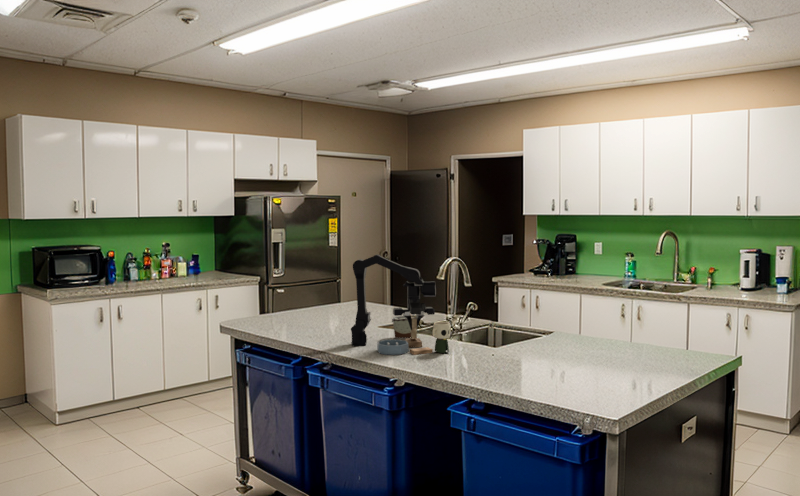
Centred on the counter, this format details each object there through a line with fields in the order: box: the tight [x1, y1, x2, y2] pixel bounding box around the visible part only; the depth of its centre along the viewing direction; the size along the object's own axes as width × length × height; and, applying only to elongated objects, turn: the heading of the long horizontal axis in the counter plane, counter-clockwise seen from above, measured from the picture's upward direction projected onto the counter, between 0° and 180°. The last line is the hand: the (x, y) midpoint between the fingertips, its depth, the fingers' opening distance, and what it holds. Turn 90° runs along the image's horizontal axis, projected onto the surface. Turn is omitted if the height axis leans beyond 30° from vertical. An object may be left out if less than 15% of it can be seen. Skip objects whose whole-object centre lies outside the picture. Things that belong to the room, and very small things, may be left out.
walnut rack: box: [404, 337, 423, 349], centre depth 281 cm, size 7×8×2 cm
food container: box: [391, 315, 411, 339], centre depth 300 cm, size 12×6×10 cm, turn 84°
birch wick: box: [411, 316, 418, 339], centre depth 281 cm, size 2×4×9 cm, turn 8°
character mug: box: [432, 321, 452, 354], centre depth 266 cm, size 11×7×13 cm, turn 132°
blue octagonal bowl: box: [376, 338, 410, 356], centre depth 269 cm, size 13×13×4 cm
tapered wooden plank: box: [409, 346, 434, 356], centre depth 266 cm, size 9×4×2 cm, turn 116°
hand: (413, 329), depth 281 cm, fingers closed on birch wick, 2 cm apart
